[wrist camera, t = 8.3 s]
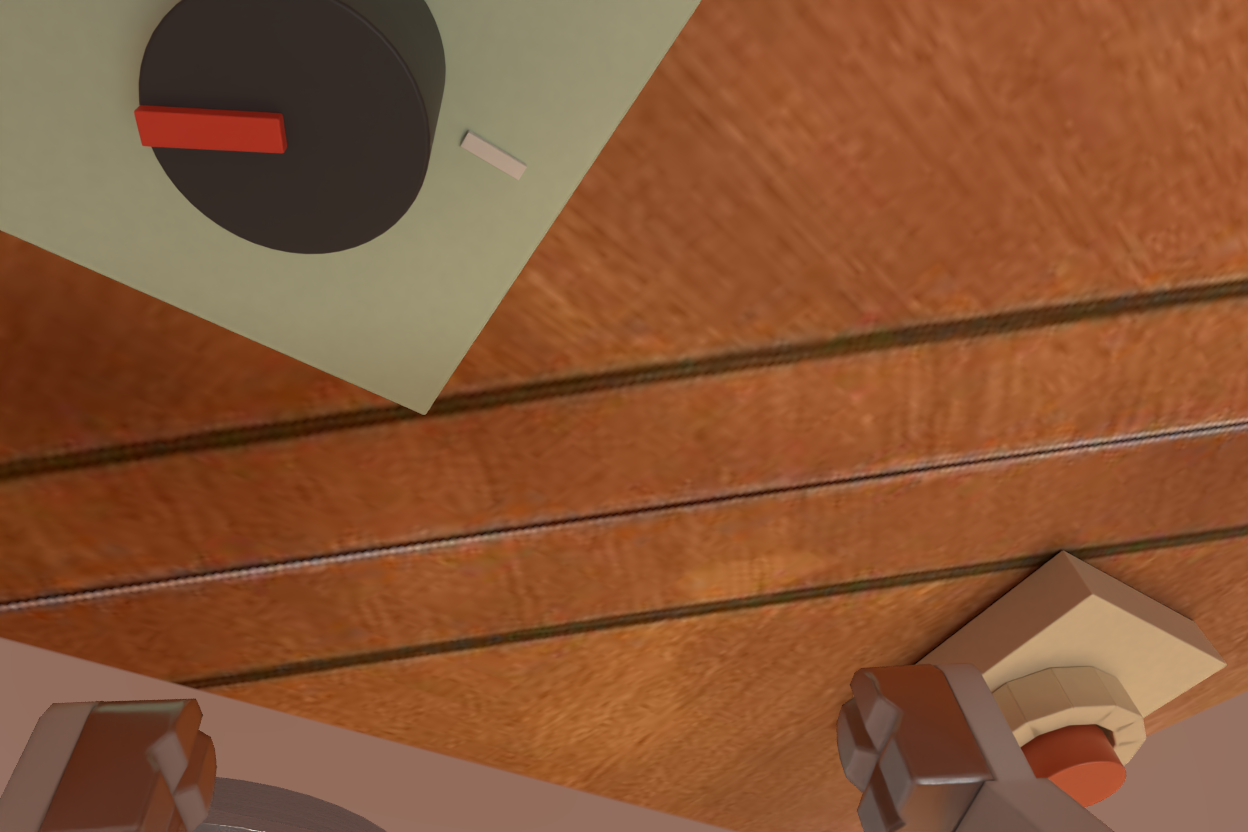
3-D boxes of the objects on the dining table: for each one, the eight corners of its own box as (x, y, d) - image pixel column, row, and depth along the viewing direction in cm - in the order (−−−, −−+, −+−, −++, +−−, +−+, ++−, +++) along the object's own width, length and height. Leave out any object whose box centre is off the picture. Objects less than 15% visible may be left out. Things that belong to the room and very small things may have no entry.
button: (1049, 779, 36) (1070, 820, 35) (993, 758, 35) (1013, 800, 33) (1121, 734, 34) (1146, 775, 33) (1065, 710, 33) (1089, 752, 32)
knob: (442, -59, 16) (421, -5, 13) (449, 173, 19) (434, 268, 15) (187, -80, 15) (94, -31, 12) (232, 162, 18) (166, 259, 15)
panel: (433, 352, 25) (424, 420, 22) (5, 150, 20) (-67, 207, 18) (740, -125, 18) (775, -105, 16) (211, -576, 14) (144, -647, 11)
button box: (979, 764, 42) (1017, 847, 39) (845, 717, 38) (875, 804, 35) (1194, 621, 36) (1258, 704, 33) (1062, 549, 33) (1120, 634, 30)
